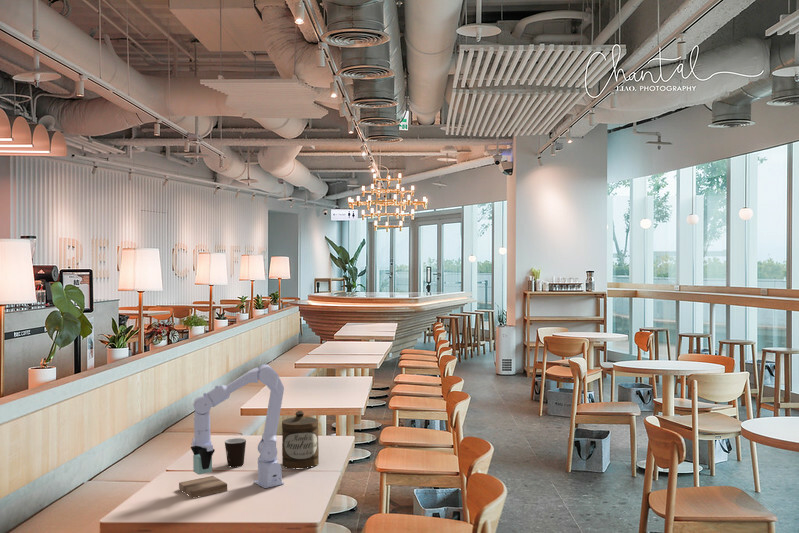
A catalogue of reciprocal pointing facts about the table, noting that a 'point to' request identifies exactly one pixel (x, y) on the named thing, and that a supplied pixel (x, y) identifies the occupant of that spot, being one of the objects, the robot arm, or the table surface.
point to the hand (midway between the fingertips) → (202, 467)
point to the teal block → (200, 465)
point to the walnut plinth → (203, 486)
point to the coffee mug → (235, 451)
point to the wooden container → (300, 441)
